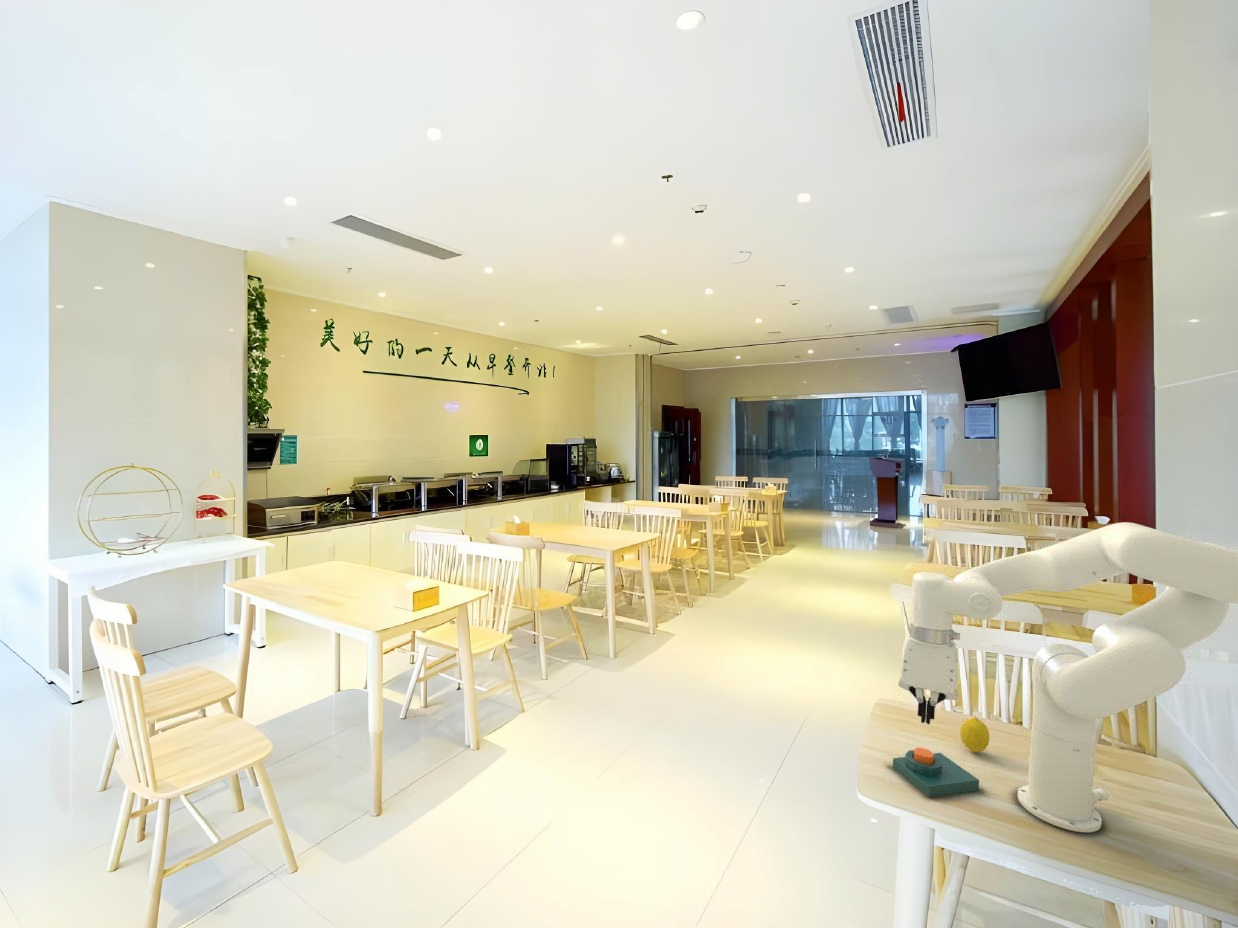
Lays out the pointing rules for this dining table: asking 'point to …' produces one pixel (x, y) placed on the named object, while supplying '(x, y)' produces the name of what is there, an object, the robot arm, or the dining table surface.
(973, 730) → the lemon
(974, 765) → the dining table surface
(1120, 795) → the dining table surface
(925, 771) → the button base
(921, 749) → the orange button cap
